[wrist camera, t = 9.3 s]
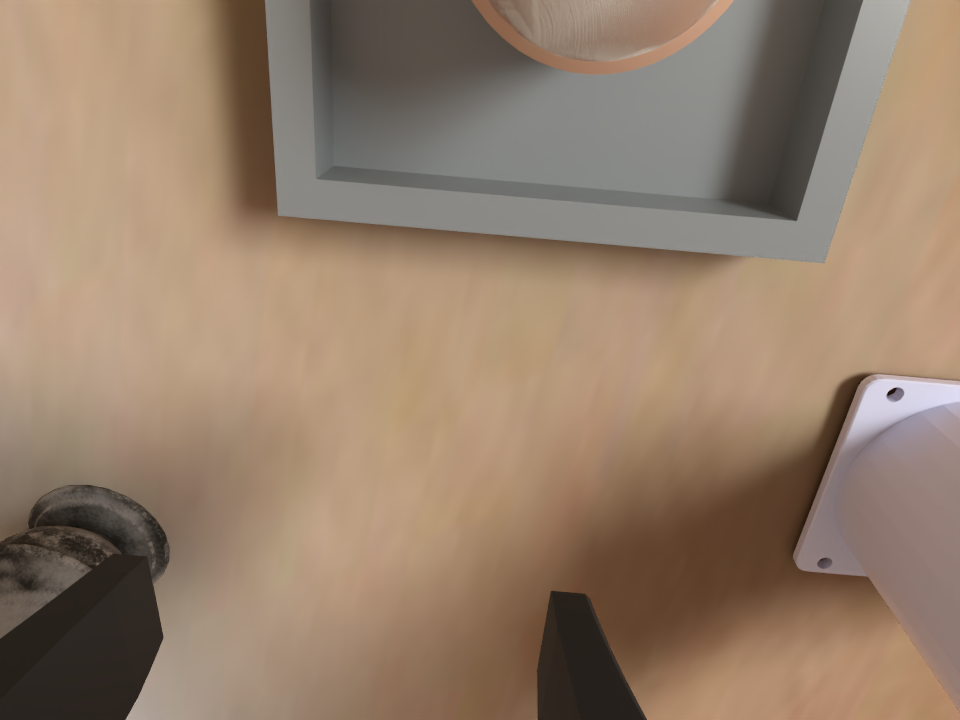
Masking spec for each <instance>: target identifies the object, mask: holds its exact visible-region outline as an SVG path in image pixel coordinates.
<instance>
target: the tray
mask: <svg viewBox="0 0 960 720" xmlns="http://www.w3.org/2000/svg"><path fill="white" fill-rule="evenodd" d="M910 1H911V0H734V1H733V2H732V4H731V5H730V6H729V7H728V9H727V10H726V11H725V12H724V13H723V14H722V15H721V16H720V17H719V18H718V19H717V20H716V21H715V22H714V24H713V25H712V26H711V27H710V28H708V29H707V30H706V31H705V32H704V33H702V34H701V35H700V36H699V37H697V38H696V39H695V40H694V41H693V42H691V43H690V44H688V45H687V46H685V47H683V48H682V49H680V50H679V51H677V52H676V53H674V54H672V55H670V56H668V57H666V58H664V59H662V60H660V61H658V62H656V63H654V64H651V65H648V66H645V67H642V68H639V69H636V70H631V71H626V72H621V73H616V74H600V75H591V74H580V73H572V72H568V71H564V70H560V69H556V68H553V67H550V66H548V65H545V64H543V63H541V62H538V61H536V60H534V59H532V58H531V57H529V56H527V55H525V54H524V53H522V52H520V51H519V50H517V49H516V48H515V47H513V46H512V45H511V44H510V43H508V42H507V41H506V40H505V39H503V38H502V37H501V36H500V35H499V34H498V33H497V32H496V31H495V30H494V29H493V28H492V27H491V26H490V25H489V24H488V22H487V21H486V20H485V19H484V17H483V16H482V14H481V13H480V12H479V10H478V9H477V8H476V6H475V5H474V4H473V2H472V0H265V10H266V27H267V43H268V60H269V76H270V93H271V109H272V125H273V142H274V158H275V175H276V191H277V208H278V216H287V217H299V218H310V219H322V220H333V221H345V222H356V223H368V224H379V225H391V226H402V227H414V228H425V229H437V230H448V231H460V232H471V233H483V234H494V235H506V236H517V237H529V238H540V239H552V240H563V241H575V242H586V243H598V244H609V245H621V246H632V247H644V248H655V249H667V250H678V251H690V252H701V253H713V254H724V255H736V256H747V257H758V258H770V259H781V260H793V261H804V262H816V263H825V260H826V257H827V253H828V250H829V247H830V244H831V241H832V238H833V235H834V232H835V229H836V226H837V223H838V220H839V217H840V214H841V211H842V208H843V205H844V202H845V199H846V196H847V193H848V189H849V186H850V183H851V180H852V177H853V174H854V171H855V168H856V165H857V162H858V159H859V156H860V153H861V150H862V147H863V144H864V141H865V138H866V135H867V132H868V129H869V126H870V122H871V119H872V116H873V113H874V110H875V107H876V104H877V101H878V98H879V95H880V92H881V89H882V86H883V83H884V80H885V77H886V74H887V71H888V68H889V65H890V62H891V58H892V55H893V52H894V49H895V46H896V43H897V40H898V37H899V34H900V31H901V28H902V25H903V22H904V19H905V16H906V13H907V10H908V7H909V4H910Z"/></svg>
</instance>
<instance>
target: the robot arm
mask: <svg viewBox="0 0 960 720" xmlns="http://www.w3.org/2000/svg"><path fill="white" fill-rule="evenodd" d="M893 388H897V390H896V391H895V393H893V394H892V395H889V396H887V393H888V392H889V390H891V389H893ZM822 558H825V559H824V560H821V561H819V560H820V559H822ZM793 559H794V561H795V563H796V565H797V567H798V568H799V569H801V570H803V571H808V572H820V573H831V574H843V575H855V576H866V577H869V579H870V580H871V582H872V583H873V585H874V586H875V588H876V589H877V591H878V592H879V594H880V595H881V597H882V598H883V600H884V601H885V603H886V604H887V606H888V607H889V608H890V610H891V611H892V613H893V614H894V616H895V617H896V619H897V620H898V622H899V623H900V625H901V626H902V628H903V629H904V631H905V632H906V634H907V635H908V637H909V638H910V640H911V641H912V643H913V644H914V646H915V647H916V649H917V650H918V651H919V653H920V654H921V656H922V657H923V659H924V660H925V662H926V663H927V665H928V666H929V668H930V669H931V671H932V672H933V674H934V675H935V677H936V678H937V680H938V681H939V683H940V684H941V686H942V687H943V689H944V690H945V691H946V693H947V694H948V696H949V697H950V699H951V700H952V702H953V703H954V705H955V706H956V708H957V709H958V711H959V712H960V381H953V380H941V379H930V378H918V377H907V376H895V375H883V374H875V375H871V376H868V377H866V378H865V379H864V380H863V381H861V383H860V384H859V386H858V388H857V391H856V393H855V396H854V399H853V401H852V404H851V406H850V409H849V411H848V414H847V417H846V419H845V422H844V424H843V427H842V430H841V432H840V435H839V437H838V440H837V443H836V445H835V448H834V450H833V453H832V455H831V458H830V461H829V463H828V466H827V468H826V471H825V474H824V476H823V479H822V481H821V484H820V486H819V489H818V492H817V494H816V497H815V499H814V502H813V505H812V507H811V510H810V512H809V515H808V518H807V520H806V523H805V525H804V528H803V530H802V533H801V536H800V538H799V541H798V543H797V546H796V549H795V551H794V554H793ZM162 640H163V633H162V628H161V622H160V617H159V612H158V607H157V602H156V597H155V592H154V587H153V582H152V577H151V572H150V567H149V562H148V557H147V556H136V555H124V554H112V555H111V556H109V557H108V558H107V559H105V560H104V561H103V562H101V563H100V564H99V565H97V566H96V567H95V568H93V569H92V570H91V571H89V572H88V573H87V574H85V575H84V576H83V577H81V578H80V579H79V580H77V581H76V582H75V583H74V584H72V585H71V586H70V587H68V588H67V589H66V590H64V591H63V592H62V593H60V594H59V595H58V596H57V597H55V598H54V599H53V600H51V601H50V602H49V603H47V604H46V605H45V606H43V607H42V608H41V609H39V610H38V611H37V612H35V613H34V614H33V615H31V616H30V617H29V618H27V619H26V620H25V621H23V622H22V623H21V624H19V625H18V626H17V627H15V628H14V629H13V630H11V631H10V632H8V633H7V634H6V635H4V636H3V637H2V638H0V720H125V719H126V718H127V716H128V714H129V712H130V711H131V709H132V707H133V705H134V703H135V702H136V700H137V698H138V696H139V694H140V692H141V689H142V687H143V685H144V683H145V680H146V678H147V676H148V674H149V671H150V669H151V667H152V664H153V662H154V660H155V657H156V655H157V652H158V650H159V647H160V645H161V643H162ZM537 686H538V720H647V719H646V717H645V715H644V713H643V712H642V710H641V708H640V706H639V704H638V702H637V700H636V698H635V696H634V694H633V693H632V691H631V689H630V687H629V685H628V683H627V681H626V679H625V677H624V675H623V673H622V671H621V669H620V667H619V665H618V663H617V661H616V659H615V657H614V655H613V652H612V650H611V648H610V646H609V644H608V642H607V639H606V637H605V635H604V633H603V630H602V628H601V626H600V623H599V621H598V618H597V616H596V613H595V611H594V608H593V606H592V603H591V600H590V599H589V598H588V596H587V595H586V594H580V593H569V592H557V591H551V594H550V600H549V605H548V611H547V617H546V623H545V628H544V634H543V640H542V646H541V652H540V657H539V663H538V669H537Z"/></svg>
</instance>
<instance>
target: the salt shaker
mask: <svg viewBox="0 0 960 720" xmlns="http://www.w3.org/2000/svg"><path fill="white" fill-rule="evenodd" d="M28 523H29V529H28V530H25V531H23V532H20V533H18V534H16V535H13V536H11V537H9V538H6V539H5V540H3V541H1V542H0V638H2V637H3V636H4V635H6V634H7V633H8V632H10V631H11V630H13V629H14V628H15V627H17V626H18V625H19V624H21V623H22V622H23V621H25V620H26V619H27V618H29V617H30V616H31V615H33V614H34V613H35V612H37V611H38V610H39V609H41V608H42V607H43V606H45V605H46V604H47V603H49V602H50V601H51V600H53V599H54V598H55V597H57V596H58V595H59V594H60V593H62V592H63V591H64V590H66V589H67V588H68V587H70V586H71V585H72V584H74V583H75V582H76V581H77V580H79V579H80V578H81V577H83V576H84V575H85V574H87V573H88V572H89V571H91V570H92V569H93V568H95V567H96V566H97V565H99V564H100V563H101V562H103V561H104V560H105V559H107V558H108V557H109V556H111V555H112V554H124V555H136V556H147V557H148V562H149V567H150V572H151V577H152V582H153V584H154V583H155V582H156V581H157V580H158V579H159V578H160V577H161V576H162V574H163V573H164V571H165V569H166V567H167V564H168V562H169V545H168V542H167V539H166V535H165V533H164V531H163V530H162V528H161V527H160V525H159V524H158V522H157V521H156V519H155V518H154V517H153V516H152V515H150V514H149V513H148V512H147V511H146V510H145V509H144V508H143V507H142V506H140V505H139V504H137V503H136V502H134V501H132V500H131V499H129V498H128V497H126V496H124V495H121V494H119V493H116V492H114V491H111V490H109V489H105V488H100V487H95V486H90V485H70V486H67V487H63V488H59V489H55V490H53V491H51V492H50V493H48V494H47V495H45V496H43V497H42V498H41V499H40V500H39V501H38V503H37V504H36V505H35V506H34V508H33V509H32V511H31V515H30V519H29V522H28Z"/></svg>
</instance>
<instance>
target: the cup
mask: <svg viewBox="0 0 960 720" xmlns="http://www.w3.org/2000/svg"><path fill="white" fill-rule="evenodd" d="M733 1H734V0H472V2H473V4H474V5H475V6H476V8H477V9H478V10H479V12H480V13H481V14H482V16H483V17H484V19H485V20H486V21H487V22H488V24H489V25H490V26H491V27H492V28H493V29H494V30H495V31H496V32H497V33H498V34H499V35H500V36H501V37H502V38H503V39H505V40H506V41H507V42H508V43H510V44H511V45H512V46H513V47H515V48H516V49H517V50H519V51H520V52H522V53H524V54H525V55H527V56H529V57H531V58H532V59H534V60H536V61H538V62H541V63H543V64H545V65H548V66H550V67H553V68H556V69H560V70H564V71H568V72H572V73H580V74H591V75H600V74H616V73H621V72H626V71H631V70H636V69H639V68H642V67H645V66H648V65H651V64H654V63H656V62H658V61H660V60H662V59H664V58H666V57H668V56H670V55H672V54H674V53H676V52H677V51H679V50H680V49H682V48H683V47H685V46H687V45H688V44H690V43H691V42H693V41H694V40H695V39H696V38H697V37H699V36H700V35H701V34H702V33H704V32H705V31H706V30H707V29H708V28H710V27H711V26H712V25H713V24H714V22H715V21H716V20H717V19H718V18H719V17H720V16H721V15H722V14H723V13H724V12H725V11H726V10H727V9H728V7H729V6H730V5H731V4H732V2H733Z"/></svg>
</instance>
